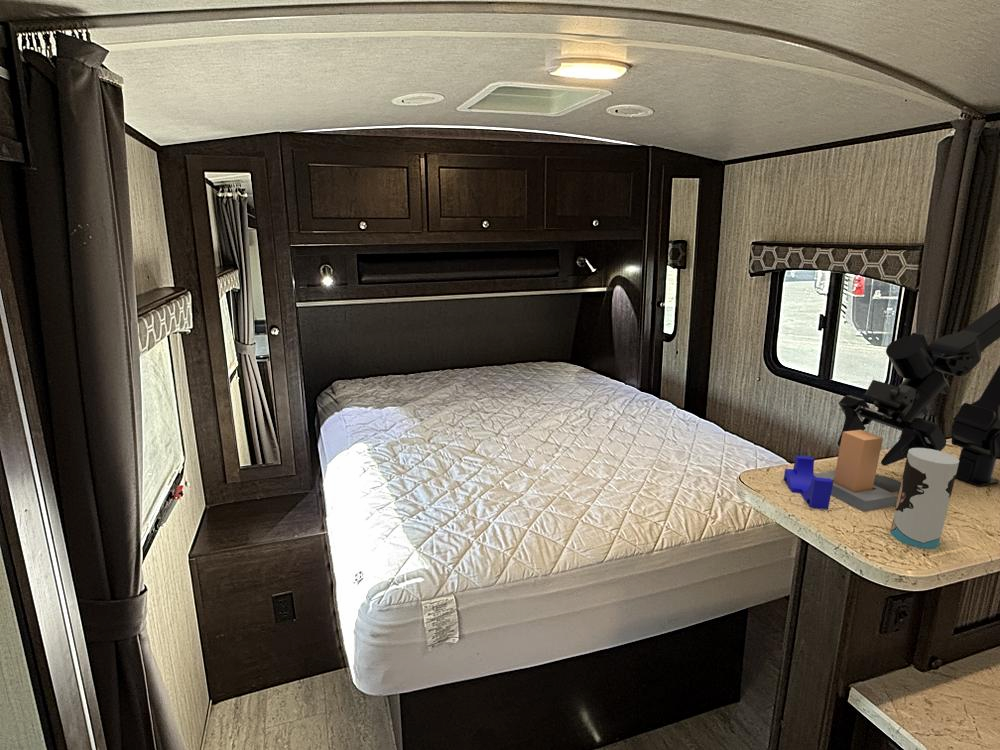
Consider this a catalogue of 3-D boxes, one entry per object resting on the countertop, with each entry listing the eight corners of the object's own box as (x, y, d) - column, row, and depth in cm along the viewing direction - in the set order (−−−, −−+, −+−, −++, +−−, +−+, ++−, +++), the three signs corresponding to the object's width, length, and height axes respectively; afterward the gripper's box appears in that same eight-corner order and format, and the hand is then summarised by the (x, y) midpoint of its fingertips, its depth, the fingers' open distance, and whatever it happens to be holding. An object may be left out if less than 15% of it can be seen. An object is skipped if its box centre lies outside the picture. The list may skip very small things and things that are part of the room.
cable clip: (782, 482, 122) (787, 454, 120) (806, 485, 121) (811, 456, 120) (800, 510, 110) (806, 479, 109) (827, 512, 110) (833, 482, 108)
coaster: (878, 475, 127) (879, 472, 127) (916, 491, 119) (916, 488, 119) (850, 479, 124) (850, 476, 124) (886, 496, 117) (887, 493, 117)
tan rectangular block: (849, 487, 119) (860, 429, 116) (870, 498, 115) (883, 438, 112) (831, 490, 117) (842, 431, 114) (852, 501, 113) (864, 440, 110)
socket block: (839, 481, 123) (841, 469, 122) (894, 508, 112) (897, 495, 111) (808, 486, 120) (811, 474, 120) (862, 514, 109) (865, 501, 109)
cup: (936, 537, 102) (956, 453, 98) (940, 555, 96) (962, 467, 92) (889, 526, 105) (907, 444, 101) (890, 543, 100) (909, 457, 96)
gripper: (854, 355, 120) (802, 412, 119) (950, 379, 103) (890, 446, 102) (875, 391, 125) (825, 446, 124) (970, 420, 108) (913, 484, 107)
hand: (859, 454), depth 114 cm, fingers open, 9 cm apart
